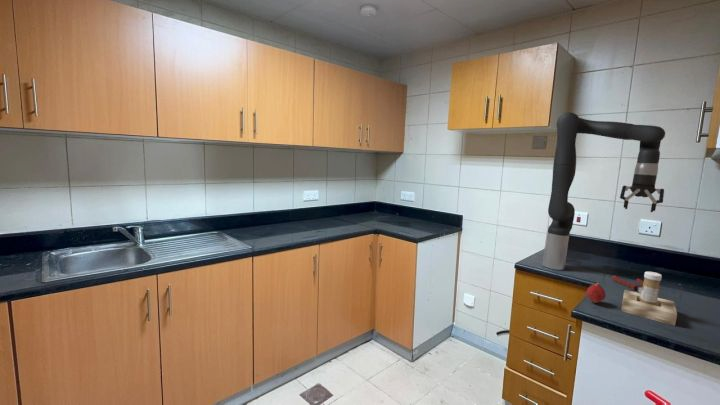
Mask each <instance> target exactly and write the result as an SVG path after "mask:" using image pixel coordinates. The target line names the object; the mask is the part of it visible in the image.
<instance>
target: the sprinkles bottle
mask: <svg viewBox="0 0 720 405" xmlns="http://www.w3.org/2000/svg"><path fill="white" fill-rule="evenodd" d="M643 277H644V278H643V281H644V283H643V288H642V292H641V297H640V302H643V303H647V304H651V305H656V302H657V298H659V290H660V284H661V281H662V277H663V276H662V274H661V273H659V272H654V271H645V272H644V274H643Z"/></svg>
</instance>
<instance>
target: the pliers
mask: <svg viewBox="0 0 720 405" xmlns="http://www.w3.org/2000/svg"><path fill="white" fill-rule="evenodd" d="M611 279H612V281H614V282H615V283H616V284H619V285H621V286H624V287H626V288H629V289H631V291H635V292H637V291H638V292H637V293H641V292H642V288H643V283H644V280H642V279H641V278H636V281H635V282H636V283H637V284H635V283H632V282H630V281H627V280H625V279H622V278H620V277H618V276H617V275H612V277H611Z"/></svg>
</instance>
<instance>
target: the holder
mask: <svg viewBox="0 0 720 405" xmlns="http://www.w3.org/2000/svg"><path fill="white" fill-rule="evenodd" d="M622 296H623V297H622V302H621V309H620V312H623V313H627V314H631V315H634V316H638V317H641V318H645V319H648V320H652V321H656V322H659V323H662V324H667V325H669V326H673V327H675V326H676V322H677V318H678V313H677V308H676V305H675V301H673V300H669V299H664V298H660V297H657V302H656V305H651V304H647V303H643V302H640V297H641V293H639V292H637V291H633V290H628V289H624V291H623V295H622Z"/></svg>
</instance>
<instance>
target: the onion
mask: <svg viewBox="0 0 720 405" xmlns="http://www.w3.org/2000/svg"><path fill="white" fill-rule="evenodd" d="M585 293H586V296H587V298H588V299H589V300H590V301H591V302H592V303H593V304H598V303H599V302H601V301H604V300H605V298H606V295H607V294H606V291H605V289H604V288H603V287H602V286H601V285H600V282H596V283H595V284H594V283H593V284H591V285H590V286H589V287H588V288H587V289H586V292H585Z"/></svg>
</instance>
